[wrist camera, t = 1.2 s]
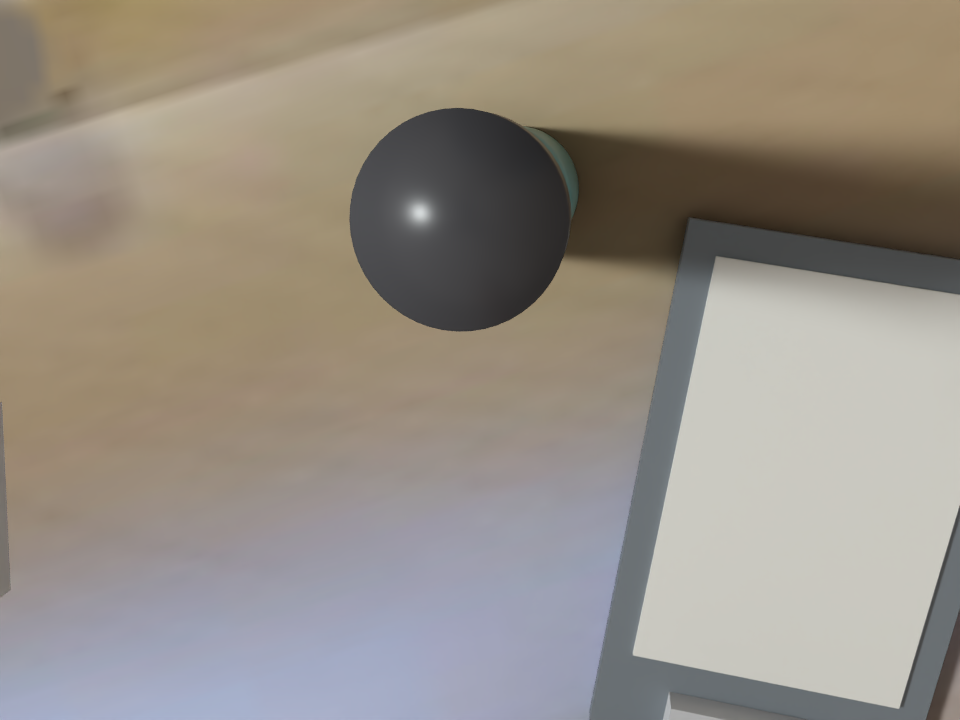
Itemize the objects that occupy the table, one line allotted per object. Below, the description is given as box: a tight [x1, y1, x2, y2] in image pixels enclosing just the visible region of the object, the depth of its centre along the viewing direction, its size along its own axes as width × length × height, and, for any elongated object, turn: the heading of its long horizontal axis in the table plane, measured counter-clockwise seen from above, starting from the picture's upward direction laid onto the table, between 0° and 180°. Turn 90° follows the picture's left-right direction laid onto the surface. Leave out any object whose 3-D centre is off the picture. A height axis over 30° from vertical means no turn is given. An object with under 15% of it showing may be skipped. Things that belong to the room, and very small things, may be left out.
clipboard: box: [589, 217, 960, 720], centre depth 30 cm, size 18×11×2 cm, turn 172°
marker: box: [350, 108, 579, 331], centre depth 24 cm, size 4×4×12 cm
